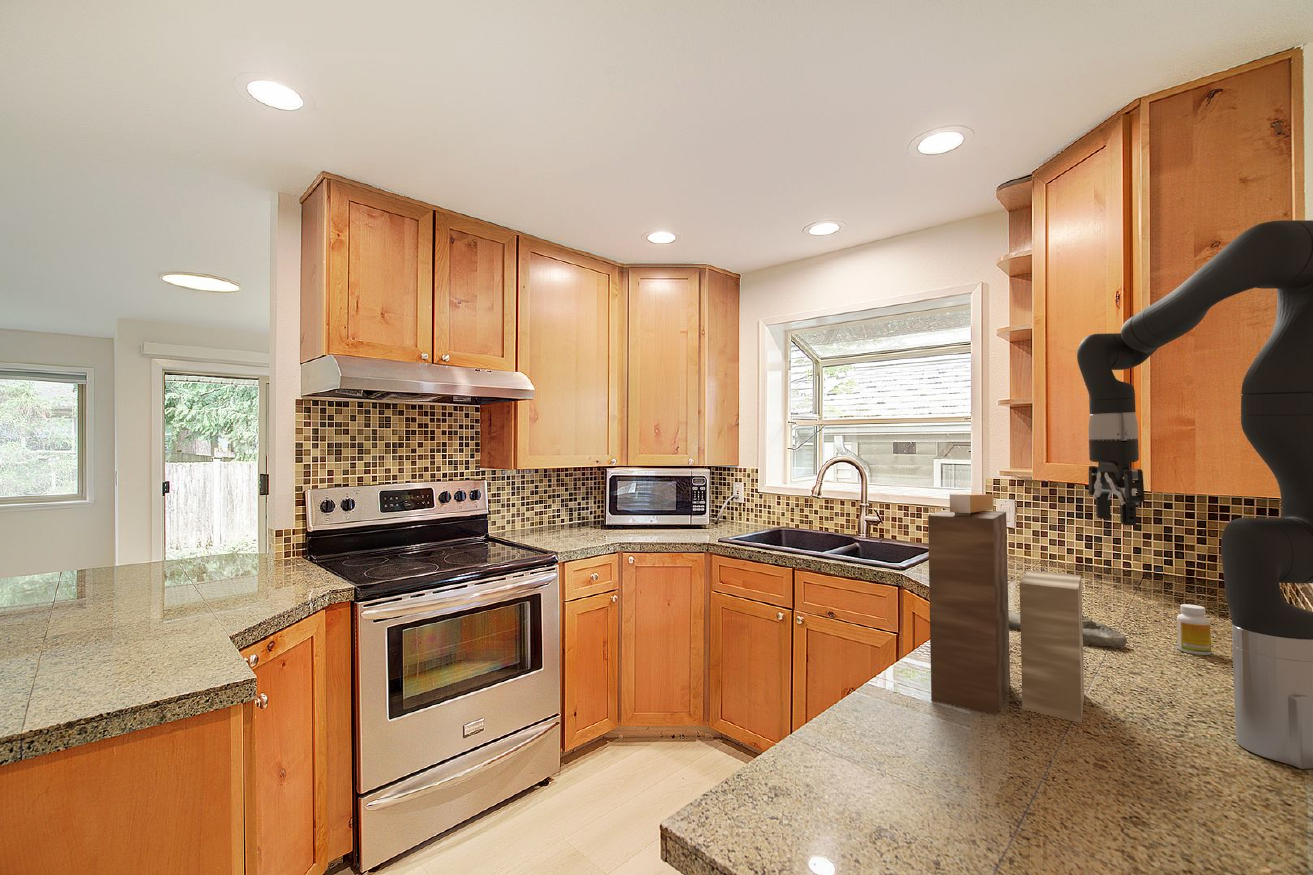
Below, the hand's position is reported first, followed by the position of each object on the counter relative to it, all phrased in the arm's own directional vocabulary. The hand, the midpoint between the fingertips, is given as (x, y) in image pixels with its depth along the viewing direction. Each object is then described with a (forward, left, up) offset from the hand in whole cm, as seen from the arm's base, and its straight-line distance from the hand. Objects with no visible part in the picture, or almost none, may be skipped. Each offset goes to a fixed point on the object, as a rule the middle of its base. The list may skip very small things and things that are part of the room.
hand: (1115, 521), depth 113 cm
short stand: (-8, +21, -30) cm, 37 cm away
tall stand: (-3, +32, -30) cm, 44 cm away
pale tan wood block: (+1, +29, +2) cm, 29 cm away
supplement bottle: (+12, -30, -30) cm, 44 cm away
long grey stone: (+31, -8, -30) cm, 44 cm away
